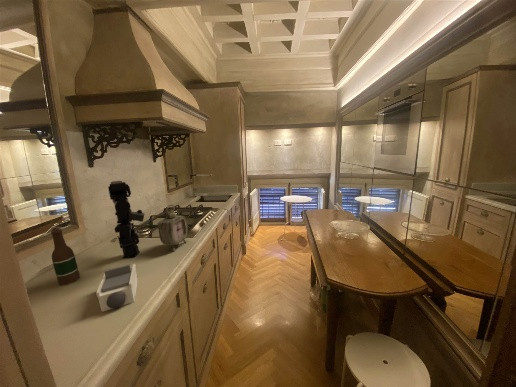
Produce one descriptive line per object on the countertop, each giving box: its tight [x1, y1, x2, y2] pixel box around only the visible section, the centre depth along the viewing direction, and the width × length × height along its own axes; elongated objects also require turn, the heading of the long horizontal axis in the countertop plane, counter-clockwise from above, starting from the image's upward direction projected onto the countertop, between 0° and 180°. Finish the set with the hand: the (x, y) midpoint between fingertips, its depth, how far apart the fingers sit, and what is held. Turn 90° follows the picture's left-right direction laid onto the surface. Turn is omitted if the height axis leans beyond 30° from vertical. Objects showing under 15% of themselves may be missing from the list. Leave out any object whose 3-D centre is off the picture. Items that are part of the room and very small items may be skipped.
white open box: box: [95, 263, 138, 312], centre depth 82 cm, size 17×10×8 cm, turn 25°
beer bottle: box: [50, 228, 81, 286], centre depth 93 cm, size 8×8×24 cm
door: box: [102, 263, 132, 292], centre depth 80 cm, size 9×8×4 cm
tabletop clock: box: [157, 204, 189, 252], centre depth 120 cm, size 14×9×25 cm, turn 164°
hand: (128, 239), depth 104 cm, fingers closed
